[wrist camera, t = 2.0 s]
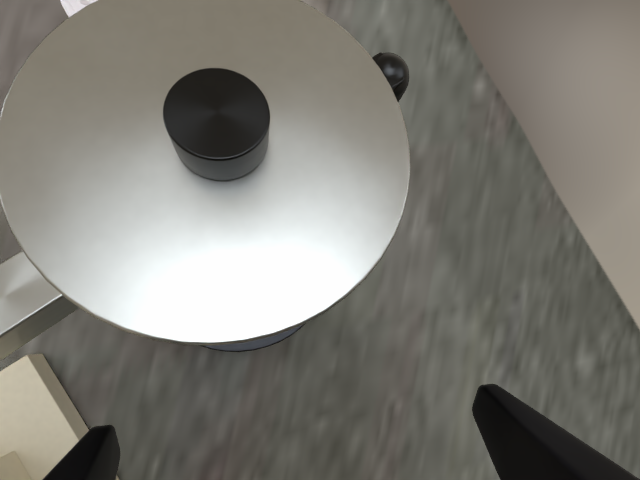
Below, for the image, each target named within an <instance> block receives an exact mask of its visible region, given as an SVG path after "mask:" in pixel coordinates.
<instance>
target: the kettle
mask: <svg viewBox="0 0 640 480" xmlns="http://www.w3.org/2000/svg"><path fill="white" fill-rule="evenodd" d="M408 82H409V70H408V67H407V65H406V63H405V61H404V60H403V59H402V58H401V57H400V56H398V55H396V54H394V53H379V54H377V55H375V56H374V57H371V56H370V55H369V53H368V52H367V51H366V50H365V49H364V48H363V47H362V46H361V45H360V44H359V43H358V42H357V41H356V40H355V39H354V37H353V36H352V35H350V34H349V33H348V32H347V31H346V30H344V29H343V28H342V27H341V26H340V25H338V24H337V23H336V22H335V21H333V20H332V19H330V18H329V17H327V16H326V15H324V14H323V13H321V12H320V11H318V10H317V9H315V8H313V7H311V6H309V5H308V4H306V3H304V2H302V1H300V0H97V1H95V2H93V3H91V4H89V5H87V6H86V7H84V8H83V9H81V10H80V11H78V12H76V13H75V14H73V15H72V16H70V17H69V18H67V19H66V20H65V21H63V22H62V23H61V24H60V25H59V26H58V27H56V28H55V29H54V30H53V31H52V32H51V33H50V34H48V35H47V36H46V37H45V38H44V39H43V40H42V42H41V43H40V44H39V45H38V46H37V47H36V48H35V50H34V51H33V52H32V53H31V54H30V55H29V56H28V58H27V60H26V61H25V63H24V64H23V66H22V67H21V69H20V70H19V72H18V73H17V75H16V76H15V78H14V80H13V82H12V85H11V87H10V89H9V91H8V93H7V95H6V98H5V100H4V103H3V106H2V110H1V113H0V202H1V206H2V209H3V211H4V214H5V216H6V219H7V221H8V224H9V226H10V229H11V231H12V233H13V235H14V237H15V238H16V240H17V242H18V244H19V245H20V247H21V249H22V250H23V251H21V252H19V253H18V254H16V255H14V256H13V257H11V258H9V259H7V260H6V261H4V262H2V263H1V264H0V360H2V359H4V358H5V357H7V356H8V355H10V354H11V353H13V352H14V351H16V350H17V349H19V348H20V347H22V346H23V345H25V344H26V343H28V342H29V341H30V340H32V339H33V338H35V337H36V336H38V335H39V334H41V333H42V332H44V331H45V330H47V329H48V328H50V327H51V326H53V325H54V324H56V323H57V322H59V321H60V320H62V319H63V318H65V317H66V316H68V315H69V314H71V313H72V312H74V311H75V310H77V309H78V308H81V309H83V310H84V311H86V312H87V313H89V314H90V315H92V316H93V317H95V318H97V319H99V320H101V321H104V322H106V323H108V324H110V325H112V326H114V327H116V328H119V329H121V330H123V331H126V332H130V333H133V334H136V335H139V336H143V337H146V338H149V339H152V340H158V341H164V342H170V343H176V344H182V345H200V346H203V347H206V348H210V349H214V350H220V351H230V352H241V351H251V350H256V349H260V348H264V347H267V346H270V345H273V344H275V343H278V342H280V341H282V340H283V339H285V338H287V337H289V336H291V335H292V334H293V333H295V332H296V331H298V330H299V329H300V328H301V327H302V326H304V325H305V324H306V323H307V322H308V321H310V320H312V319H314V318H316V317H318V316H319V315H321V314H323V313H325V312H326V311H328V310H329V309H331V308H332V307H333V306H335V305H336V304H337V303H339V302H340V301H342V300H343V299H344V298H346V297H347V296H348V295H349V294H350V293H351V292H352V291H353V290H354V289H355V288H356V287H357V286H358V285H360V284H361V283H362V282H363V281H364V280H365V279H366V278H367V276H368V275H369V274H370V272H371V271H372V270H373V269H374V267H375V266H376V265H377V264H378V262H379V261H380V260H381V258H382V257H383V255H384V253H385V251H386V250H387V248H388V246H389V245H390V243H391V241H392V239H393V238H394V235H395V233H396V230H397V228H398V225H399V223H400V220H401V218H402V215H403V211H404V207H405V203H406V199H407V195H408V187H409V178H410V149H409V143H408V136H407V130H406V126H405V122H404V119H403V116H402V112H401V109H400V106H399V104H398V102H399V100H400V99H401V97H402V95H403V94H404V92H405V90H406V88H407V86H408Z"/></svg>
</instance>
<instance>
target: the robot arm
mask: <svg viewBox="0 0 640 480" xmlns="http://www.w3.org/2000/svg"><path fill="white" fill-rule="evenodd" d="M472 411H473V416H474V419H475V421H476V423H477V426H478V428H479V431H480V433H481V435H482V438H483V440H484V442H485V445H486V447H487V450H488V452H489V454H490V457H491V459H492V462H493V464H494V466H495V469H496V471H497V473H498V475H499V477H500V479H501V480H640V479H638V478H637V477H635V476H634V475H632V474H631V473H629V472H628V471H626V470H625V469H623V468H622V467H620V466H619V465H617V464H616V463H614V462H613V461H611V460H610V459H608V458H607V457H605V456H604V455H602V454H601V453H599V452H598V451H596V450H595V449H593V448H591V447H590V446H588V445H587V444H585V443H584V442H582V441H581V440H579V439H578V438H576V437H575V436H573V435H572V434H570V433H569V432H567V431H566V430H564V429H563V428H561V427H560V426H558V425H557V424H555V423H554V422H552V421H551V420H549V419H548V418H546V417H545V416H543V415H542V414H540V413H539V412H537V411H536V410H534V409H533V408H531V407H529V406H528V405H526V404H525V403H523V402H522V401H520V400H519V399H517V398H516V397H514V396H513V395H511V394H510V393H508V392H507V391H505V390H504V389H502V388H501V387H499V386H498V385H495V384H487V385H481V386H480V387H479V388H478V390H477V393H476V397H475V400H474V403H473V407H472ZM119 460H120V447H119V443H118V439H117V436H116V432H115V428H114V427H113V426H112V425H104V426H96V427H93V428H91V429H90V430H89V431H88V432H87V433H86V434H85V435H84V436H83V437H82V438H81V439H80V440H79V441H78V442H77V444H76V445H75V446H74V447H73V448H72V449H71V450H70V451H69V452H68V453H67V454H66V455H65V456H64V457H63V458H62V459H61V460H60V461H59V462H58V464H57V465H56V466H55V467H54V468H53V469H52V470H51V471H50V472H49V473H48V474H47V475H46V476H45V477H44V478H43V479H42V480H116V475H117V470H118V465H119Z"/></svg>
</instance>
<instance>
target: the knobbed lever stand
mask: <svg viewBox="0 0 640 480" xmlns="http://www.w3.org/2000/svg"><path fill="white" fill-rule="evenodd" d="M88 431H89V429H88V428H87V426H86V424H85V423H84V421H83V420H82V418H81V416H80V415H79V413H78V411H77V410H76V408H75V406H74V405H73V403H72V402H71V400H70V398H69V397H68V395H67V393H66V392H65V390H64V389H63V387H62V385H61V384H60V382H59V380H58V379H57V377H56V376H55V374H54V372H53V371H52V369H51V367H50V366H49V364H48V363H47V361H46V359H45V358H44V356H43V354H32V355H26V356H24V357H23V358H21V359H19V360H18V361H16V362H15V363H13V364H11V365H10V366H8V367H7V368H5V369H3V370H2V371H0V480H42V479H43V478H44V477H45V476H46V475H47V474H48V473H49V472H50V471H51V470H52V469H53V468H54V467H55V466H56V465H57V464H58V462H59V461H60V460H61V459H62V458H63V457H64V456H65V455H66V454H67V453H68V452H69V451H70V450H71V449H72V448H73V447H74V446H75V445H76V444H77V442H78V441H79V440H80V439H81V438H82V437H83V436H84V435H85V434H86V433H87V432H88ZM116 480H119V478H118V477H117V475H116Z"/></svg>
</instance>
